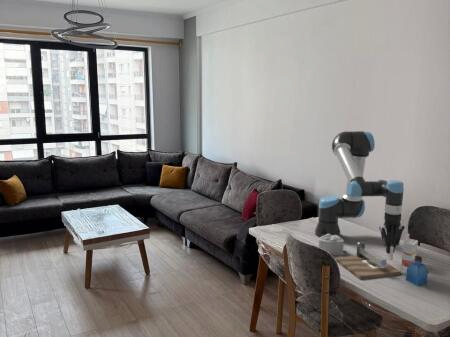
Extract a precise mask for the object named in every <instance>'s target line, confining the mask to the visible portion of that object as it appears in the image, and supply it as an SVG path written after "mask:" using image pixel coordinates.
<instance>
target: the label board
mask: <svg viewBox="0 0 450 337" xmlns="http://www.w3.org/2000/svg"><path fill="white" fill-rule="evenodd" d="M335 259H336V261H337V262H336V261H335V262H336V263H337V264H339V265H340V266H341V267H343V268H344V269H345V270H347V271H348V272H349V273H350V274H352V275H353V276H354V277H355V278H357V279H358V280H365V279H375V278H382V277H383V278H384V277H391V276H399V275H401V272H402V271H400V270H399V269H398V268H395V267H394V266H393V265H391V264H390V263H388V262H386V266H381V267H380V266H379V265H377V264H376V263H374V262H373V261H371V260H370V259H368V258H367V257H365V256H364V257H359V256H357V254H355V255H348V256H347V255H346V256H338V257H334V260H335Z"/></svg>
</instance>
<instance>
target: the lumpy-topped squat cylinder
mask: <svg viewBox="0 0 450 337" xmlns="http://www.w3.org/2000/svg"><path fill="white" fill-rule="evenodd" d="M317 242H318V244H317V247H319V248H322V249H324V250H326V251H327V252H329V253H330V254H331V256H332V255H333V256H334V255H336V256H337V255H342V254H344V245H345V244H344V242H345V240H344V239H343V238H341V236H340V237H339V236H338V235H331V234H326V235H324V236H322V237H319V238H318V241H317Z"/></svg>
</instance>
